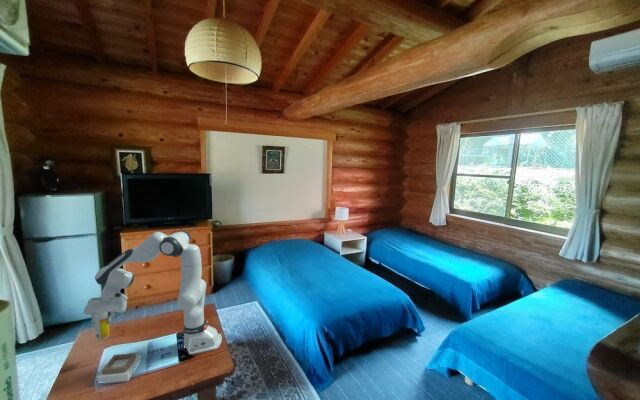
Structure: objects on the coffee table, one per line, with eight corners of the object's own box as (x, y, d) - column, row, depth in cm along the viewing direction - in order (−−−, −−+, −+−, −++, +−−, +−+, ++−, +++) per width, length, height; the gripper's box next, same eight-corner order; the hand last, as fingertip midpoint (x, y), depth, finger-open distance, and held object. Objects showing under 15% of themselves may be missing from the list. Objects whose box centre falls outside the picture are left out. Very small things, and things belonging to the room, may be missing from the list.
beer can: (112, 333, 156) (110, 309, 154) (104, 340, 150) (101, 315, 148) (101, 333, 156) (99, 309, 154) (93, 340, 150) (90, 315, 148)
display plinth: (141, 361, 154) (140, 350, 153) (128, 381, 140) (127, 369, 139) (113, 363, 151) (112, 353, 150) (97, 384, 138) (96, 372, 137)
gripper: (86, 296, 155) (76, 322, 147) (126, 293, 158) (118, 319, 150) (92, 299, 160) (83, 324, 152) (130, 297, 163) (123, 321, 155)
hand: (100, 321), depth 151 cm, fingers closed on beer can, 6 cm apart
